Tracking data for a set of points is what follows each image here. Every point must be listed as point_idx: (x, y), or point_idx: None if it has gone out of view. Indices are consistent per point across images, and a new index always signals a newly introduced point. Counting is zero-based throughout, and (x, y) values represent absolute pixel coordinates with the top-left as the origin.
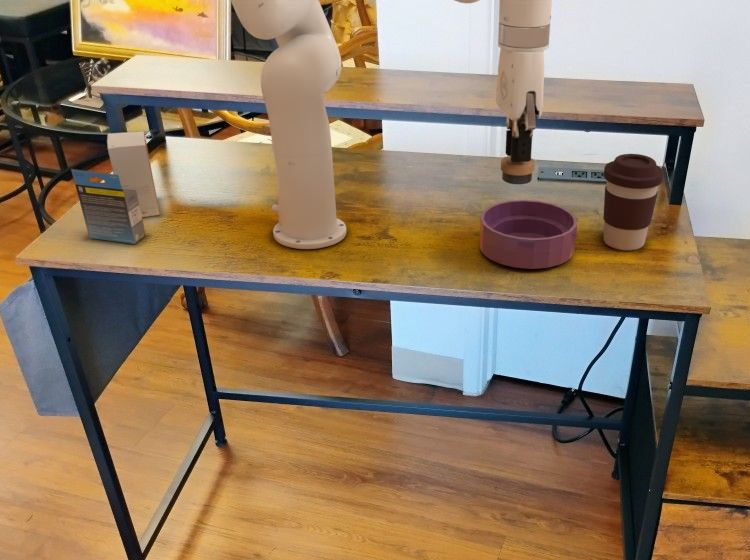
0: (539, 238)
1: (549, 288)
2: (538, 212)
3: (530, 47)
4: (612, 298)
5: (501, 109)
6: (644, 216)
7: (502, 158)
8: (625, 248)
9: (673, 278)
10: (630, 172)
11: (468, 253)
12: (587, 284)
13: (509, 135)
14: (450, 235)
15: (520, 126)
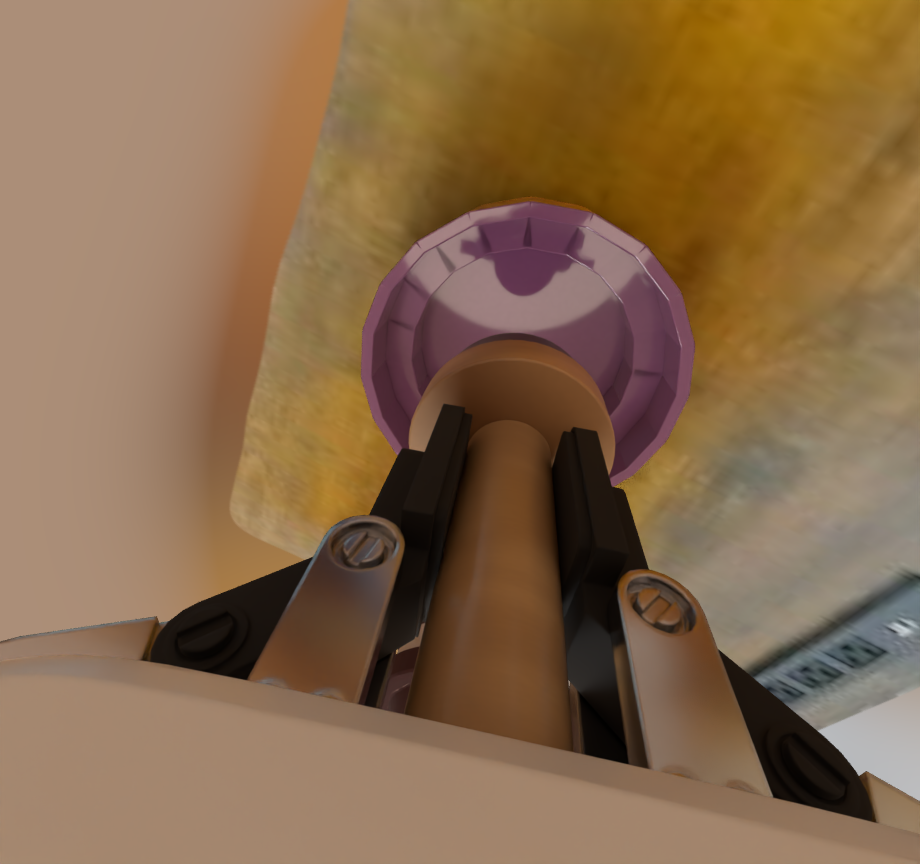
0: (368, 349)
1: (312, 306)
2: (615, 452)
3: None
4: (256, 411)
5: (645, 811)
6: None
7: (592, 395)
8: None
9: (321, 539)
10: (403, 704)
11: (581, 158)
12: (320, 396)
13: (573, 531)
14: (751, 144)
15: (189, 640)
